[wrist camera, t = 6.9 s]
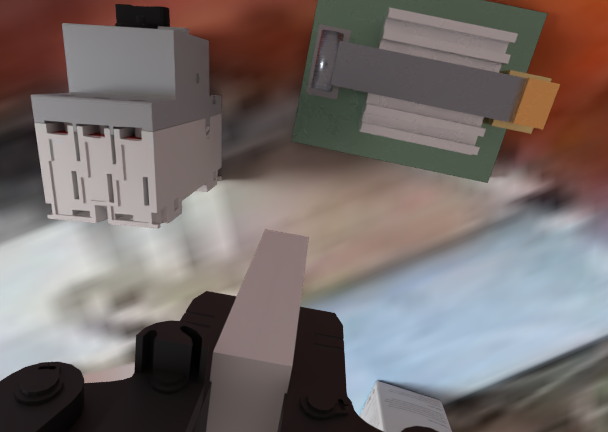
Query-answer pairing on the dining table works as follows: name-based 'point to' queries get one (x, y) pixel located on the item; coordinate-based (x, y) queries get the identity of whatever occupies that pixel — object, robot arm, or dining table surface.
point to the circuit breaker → (129, 122)
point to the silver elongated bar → (431, 82)
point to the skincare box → (402, 410)
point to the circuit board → (408, 115)
